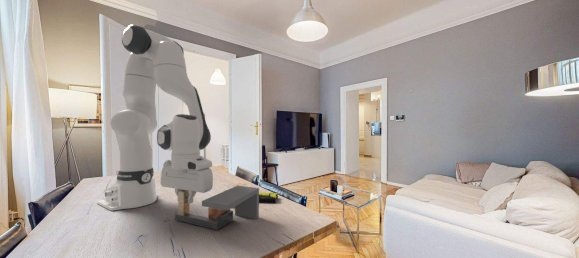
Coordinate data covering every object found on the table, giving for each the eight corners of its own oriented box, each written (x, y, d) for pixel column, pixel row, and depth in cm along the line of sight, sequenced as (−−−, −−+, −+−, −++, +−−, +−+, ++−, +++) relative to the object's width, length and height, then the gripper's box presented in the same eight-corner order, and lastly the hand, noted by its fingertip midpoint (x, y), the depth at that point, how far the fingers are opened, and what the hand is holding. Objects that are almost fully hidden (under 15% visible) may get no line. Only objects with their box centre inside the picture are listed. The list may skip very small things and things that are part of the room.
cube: (208, 222, 71) (208, 207, 71) (218, 216, 76) (218, 202, 76) (220, 225, 69) (220, 209, 69) (229, 219, 74) (229, 204, 74)
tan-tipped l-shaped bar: (174, 219, 72) (174, 190, 71) (193, 210, 79) (193, 184, 79) (216, 230, 65) (216, 197, 65) (233, 219, 72) (233, 190, 72)
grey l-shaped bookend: (201, 236, 62) (201, 201, 62) (237, 213, 78) (237, 185, 78) (227, 242, 58) (227, 205, 58) (258, 217, 75) (258, 188, 75)
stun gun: (274, 204, 82) (278, 192, 97) (226, 202, 83) (237, 191, 98) (274, 211, 82) (278, 198, 97) (226, 209, 83) (237, 197, 98)
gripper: (155, 160, 73) (155, 200, 73) (202, 165, 65) (201, 209, 65) (171, 158, 79) (171, 195, 79) (216, 162, 71) (215, 203, 71)
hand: (185, 202), depth 72 cm, fingers closed on tan-tipped l-shaped bar, 2 cm apart
